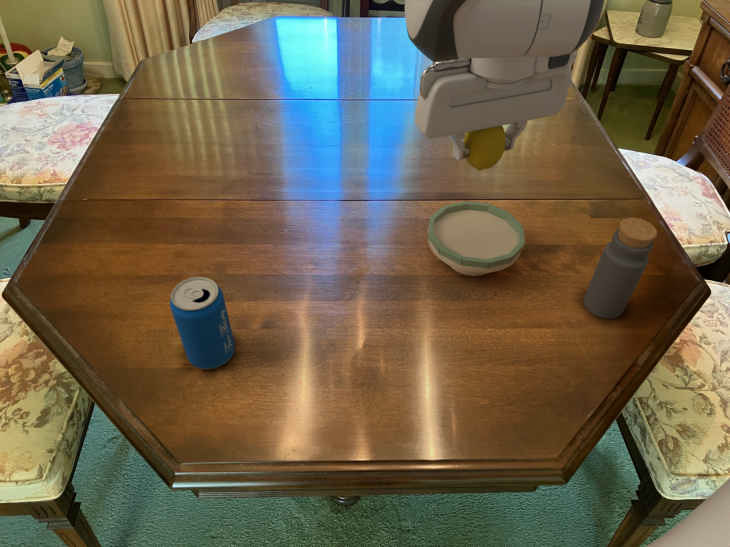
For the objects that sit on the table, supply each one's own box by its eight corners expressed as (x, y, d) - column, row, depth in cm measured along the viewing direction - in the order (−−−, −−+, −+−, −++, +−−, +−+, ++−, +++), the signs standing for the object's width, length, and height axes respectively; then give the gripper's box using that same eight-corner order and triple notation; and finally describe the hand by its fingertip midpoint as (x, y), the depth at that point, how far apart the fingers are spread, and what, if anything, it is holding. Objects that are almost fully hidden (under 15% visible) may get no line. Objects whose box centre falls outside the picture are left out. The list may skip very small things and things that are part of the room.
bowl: (535, 278, 87) (544, 248, 83) (450, 301, 83) (455, 272, 79) (487, 222, 97) (493, 193, 93) (410, 241, 94) (413, 212, 89)
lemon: (501, 162, 78) (512, 110, 72) (497, 184, 74) (508, 130, 68) (462, 156, 79) (470, 104, 73) (456, 177, 75) (464, 124, 70)
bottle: (597, 285, 86) (630, 209, 76) (630, 307, 83) (670, 230, 73) (575, 302, 84) (606, 226, 73) (609, 325, 80) (647, 248, 70)
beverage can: (221, 378, 73) (204, 317, 65) (178, 364, 74) (156, 304, 66) (244, 342, 77) (231, 281, 69) (203, 330, 79) (186, 269, 70)
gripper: (434, 74, 60) (423, 180, 70) (589, 49, 65) (559, 151, 75) (410, 52, 64) (403, 154, 74) (558, 30, 70) (533, 129, 79)
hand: (483, 152), depth 75 cm, fingers closed on lemon, 5 cm apart
